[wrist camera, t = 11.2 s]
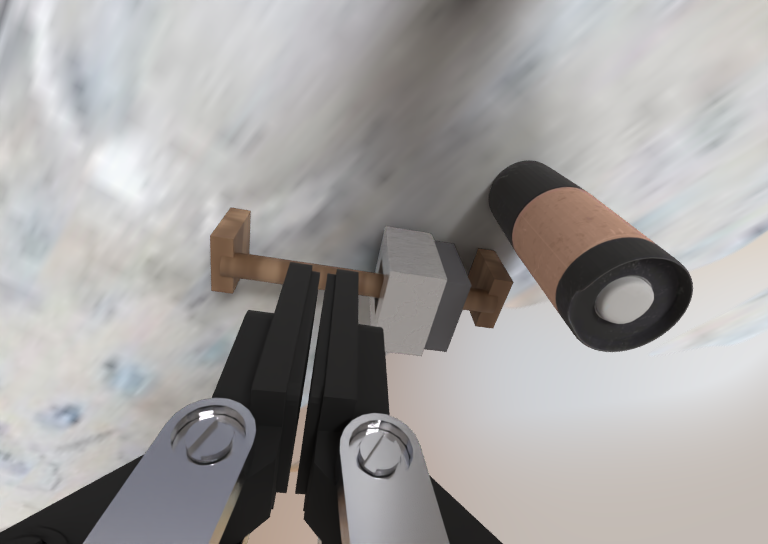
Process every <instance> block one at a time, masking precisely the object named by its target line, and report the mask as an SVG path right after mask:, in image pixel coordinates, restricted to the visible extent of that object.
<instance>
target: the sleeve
mask: <svg viewBox="0 0 768 544" xmlns="http://www.w3.org/2000/svg"><path fill="white" fill-rule="evenodd" d="M375 273H379V274H383V277H384V280H383V285H382V289H381V293H380V297H379V298H377V297H370V326H376V327H382V328H383V332H384V344H385V352H391V353H400V354H408V355H416V356H422V353H423V350H424V347H425V344H426V341H427V338H428V335H429V333H430V330H431V327H432V324H433V321H434V318H435V315H436V312H437V309H438V306H439V303H440V300H441V297H442V294H443V291H444V288H445V285H446V282H447V277H446V274H445V271H444V268H443V265H442V262H441V260H440V257H439V254H438V251H437V248H436V245H435V242H434V239H433V236H432V234H431V233H425V232H419V231H413V230H407V229H401V228H395V227H389V226H385V230H384V234H383V239H382V243H381V248H380V252H379V257H378V261H377V266H376V270H375Z"/></svg>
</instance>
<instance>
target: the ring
mask: <svg viewBox="0 0 768 544" xmlns="http://www.w3.org/2000/svg"><path fill="white" fill-rule="evenodd" d="M434 242H435V245H436V248H437V251H438V254H439V257H440V260H441V262H442V265H443V268H444V271H445V274H446V277H447V282H446V285H445V288H444V291H443V294H442V297H441V300H440V303H439V306H438V309H437V312H436V315H435V318H434V321H433V324H432V327H431V330H430V333H429V335H428V338H427V341H426V344H425V347H424V349H427V350H435V351H444V352H446V351H447V349H448V346H449V344H450V341H451V339H452V336H453V333H454V331H455V328H456V325H457V323H458V320H459V317H460V315H461V312H462V309H463V307H464V304H465V301H466V299H467V296H468V294H469V291H470V288H471V286H472V285H471V283H470V280H469V278H468V276H467V273H466V271H465V269H464V266H463V264H462V262H461V259H460V257H459V254H458V252H457V250H456V247H455V245H454V244H453V243H447V242H440V241H434Z"/></svg>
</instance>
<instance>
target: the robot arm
mask: <svg viewBox="0 0 768 544" xmlns="http://www.w3.org/2000/svg"><path fill="white" fill-rule="evenodd" d="M312 268H313V265H308V264H302V263H295V262H290V264H289V267H288V270H287V274H286V277H285V280H284V283H283V287H282V290H281V293H280V297H279V300H278V303H277V306H276V310H275V313H267V312H260V311H252V310H248V311H247V313H246V315H245V317H244V320H243V322H242V325H241V327H240V330H239V332H238V335H237V337H236V339H235V342H234V344H233V347H232V349H231V352H230V354H229V357H228V359H227V362H226V364H225V367H224V369H223V372H222V374H221V377H220V379H219V381H218V384H217V386H216V389H215V391H214V394H213V396H212V398H210V399H203V400H200V401H197V402H194V403H192V404H189V405H187V406H186V407H184V408H182V409H181V410H179V411H178V412H176V413H175V414H174V415H173V416H172V417H171V419H170V420H169V421H168V422H167V423H166V424H165V426H164V427H163V428H162V430H161V431H160V433H159V434H158V436H157V437H156V439H155V440H154V441H153V443H152V444H151V446H150V447H149V449H148V450H147V452H146V453H145V454H144V455H142V456H140V457H138V458H137V459H135V460H133V461H131V462H129V463H127V464H126V465H124V466H122V467H120V468H118V469H116V470H115V471H113V472H111V473H109V474H107V475H105V476H103V477H102V478H100V479H98V480H96V481H94V482H92V483H91V484H89V485H87V486H85V487H83V488H81V489H80V490H78V491H76V492H74V493H72V494H70V495H69V496H67V497H65V498H63V499H61V500H59V501H57V502H56V503H54V504H52V505H50V506H48V507H46V508H45V509H43V510H41V511H39V512H37V513H35V514H34V515H32V516H30V517H28V518H26V519H24V520H23V521H21V522H19V523H17V524H15V525H13V526H11V527H10V528H8V529H6V530H4V531H2V532H0V544H247V543H248V539H249V534H250V533H251V532H252V531H253V530H254V529H256V528H257V527H258V526H260V525H261V524H262V523H263V522H264V521H266V520H267V519H268V518H269V517H270V513H271V509H273V506H274V502H275V496H276V492H280V493H286V492H287V486H288V481H289V474H290V468H291V462H292V456H293V450H294V443H295V437H296V431H297V425H298V419H299V413H300V407H301V400H302V394H303V388H304V382H305V376H306V370H307V363H308V357H309V350H310V343H311V336H312V329H313V322H314V315H315V308H316V301H317V294H318V287H319V279H320V272H316V271H312ZM358 290H359V272H356V271H349V270H342V269H337V271H336V274H330V273H328V274H327V280H326V286H325V293H324V300H323V306H322V313H321V319H320V326H319V332H318V339H317V345H316V352H315V359H314V365H313V372H312V379H311V386H310V393H309V400H308V407H307V414H306V421H305V428H304V435H303V443H302V450H301V456H300V463H299V470H298V477H297V484H296V491H295V493H296V494H305V502H304V509H303V511H305V513H304V520H305V521H306V523H307V524H308V525H309V526H310V527H311V529H312V530H313V531H314V533H315V534H316V535H317V536H318V544H503V543H501V542H500V541H499V540H498V539H497V538H496V537H495V536H494V535H493V534H492V533H491V532H489V530H487V529H486V528H485V527H484V526H483V525H482V524H481V523H480V522H479V521H478V520H477V519H476V518H475V517H474V516H472V515H471V514H470V513H469V512H468V511H467V510H466V509H465V508H464V507H463V506H462V505H461V504H460V503H459V502H457V501H456V500H455V499H454V498H453V497H452V496H451V495H450V494H449V493H448V492H447V491H445V490H444V489H443V488H442V487H441V486H440V485H439V484H438V483H437V482H436V481H435V480H434V479H433V478H432V477H431V476H430V475H429V473H428V470H427V466H426V463H425V460H424V456H423V453H422V449H421V446H420V444H419V442H418V439H417V437H416V435H415V434H414V433H413V432H412V430H411V429H410V428H409V427H408V426H407V425H406V424H404V423H403V422H402V421H400V420H398V419H397V418H394V417H391V416H390V415H389V402H388V387H387V373H386V359H385V344H384V332H383V328H382V327H376V326H368V325H360V324H358Z"/></svg>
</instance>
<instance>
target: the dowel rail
mask: <svg viewBox="0 0 768 544" xmlns="http://www.w3.org/2000/svg"><path fill="white" fill-rule="evenodd" d="M250 213H251V211H248V210H242V209H236V208H230V209H229V211H228V212H227V213H226V215H225V216H224V218H223V219H222V220H221V222H220V223H219V224H218V226H217V227H216V229H215V230H214V231H213V233H212V234H211V235H210V248H211V291H217V292H225V293H232V294H233V292H234V290H235V288H236V286H237V284H238V282H239V280H240V278H241V279H248V280H255V281H262V282H269V283H276V284H283V283H284V280H285V277H286V274H287V270H288V267H289V264H290V262H295V263H302V264H308V265H313V268H312V271H316V272H320V279H319V287H318V289H319V290H325V286H326V280H327V274H328V273H330V274H336V271H337V269H342V270H349V271H356V272H359V290H358V295H362V296H370V297H377V298H379V297H380V293H381V289H382V285H383V280H384V277H383V274H379V273H372V272H365V271H359V270H352V269H345V268H339V267H332V266H325V265H318V264H312V263H305V262H298V261H291V260H285V259H278V258H271V257H265V256H258V255H251V254H249V243H250ZM468 278H469V280H470V283H471V285H472V286H471V288H470V291H469V294H468V296H467V299H466V301H465V304H464V307H463V310H470V313H471V316H472V318H473V321H474V324H475V326H478V327H486V328H493V327H494V325H495V323H496V321H497V318H498V316H499V314H500V311H501V309H502V307H503V305H504V302H505V300H506V298H507V296H508V293H509V291H510V289H511V286H512V284H513V281H512V279H511V277H510V276H509V274H508V272H507V271H506V269H505V267H504V265H503V264H502V262H501V260H500V259H499V257H498V255H497V254H496V252H495V251H492V250H486V249H480V248H478V250H477V253H476V256H475V258H474V261H473V264H472V267H471V269H470V272H469V275H468Z"/></svg>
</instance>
